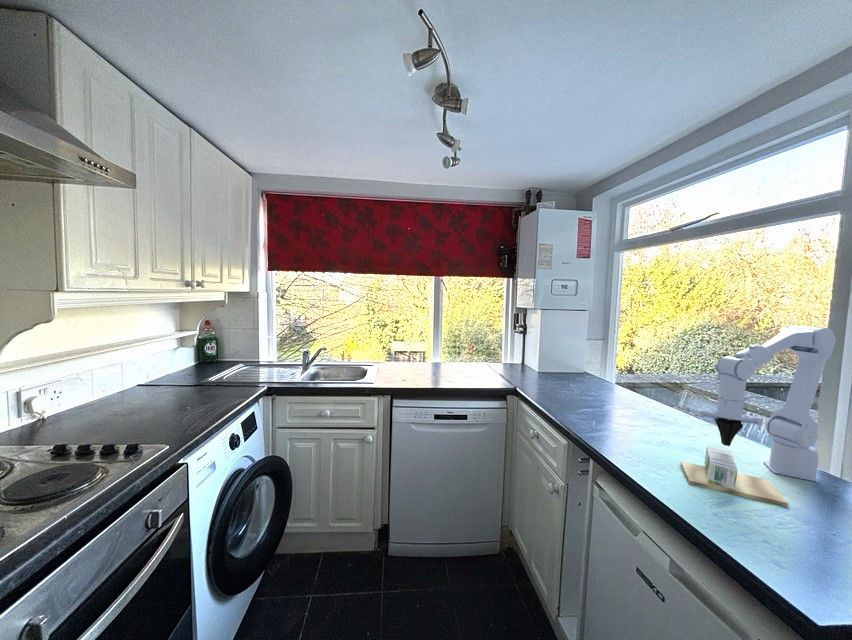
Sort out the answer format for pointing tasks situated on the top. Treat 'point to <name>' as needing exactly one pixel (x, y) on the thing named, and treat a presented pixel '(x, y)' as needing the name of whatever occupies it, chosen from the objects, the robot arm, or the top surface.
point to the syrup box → (720, 467)
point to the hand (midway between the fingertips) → (725, 444)
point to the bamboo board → (736, 485)
